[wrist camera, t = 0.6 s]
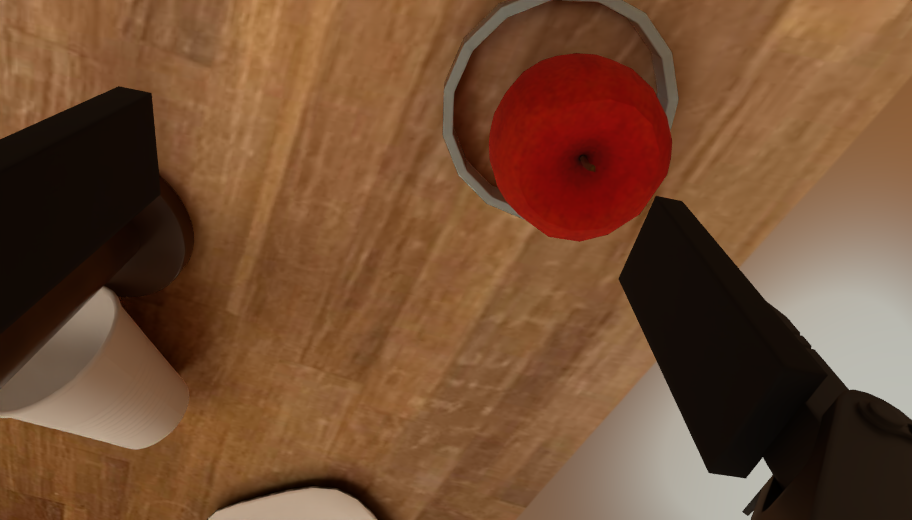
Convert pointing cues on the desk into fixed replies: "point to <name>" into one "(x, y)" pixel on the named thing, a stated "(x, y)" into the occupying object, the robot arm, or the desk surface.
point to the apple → (579, 145)
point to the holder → (107, 276)
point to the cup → (99, 380)
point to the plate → (298, 506)
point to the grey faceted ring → (513, 5)
